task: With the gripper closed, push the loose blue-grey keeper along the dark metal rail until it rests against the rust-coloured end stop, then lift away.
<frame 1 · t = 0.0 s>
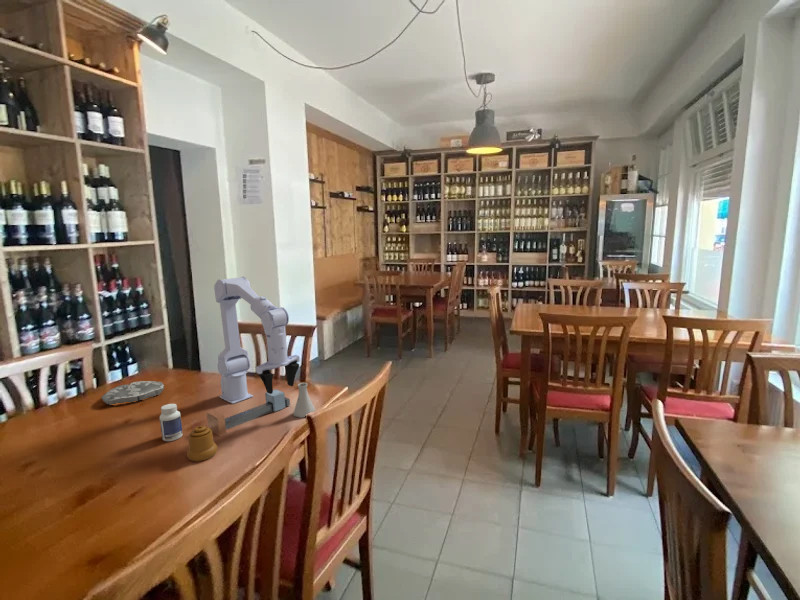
hand: (280, 389, 132), 10 cm above the table, tool pointing down, fingers open, 7 cm apart
ornamental finial: (202, 455, 114), on the table
brain slice: (133, 397, 156), on the table
rail: (253, 417, 136), on the table
keeper: (275, 400, 142), point 3 cm above the table, slide at 0.0 cm
flask: (304, 414, 138), on the table
pill bottle: (172, 438, 124), on the table
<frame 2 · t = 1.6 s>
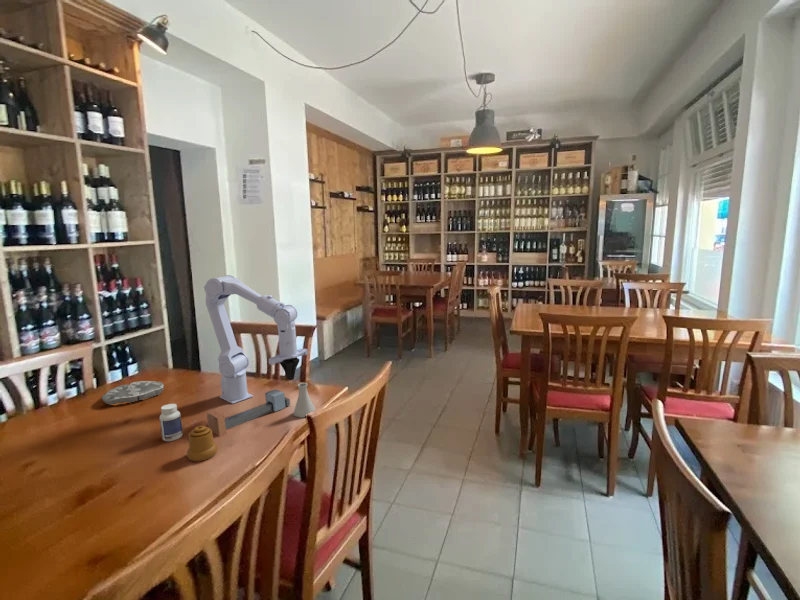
hand: (290, 379, 146), 8 cm above the table, tool pointing down, fingers closed
nothing on the table moved.
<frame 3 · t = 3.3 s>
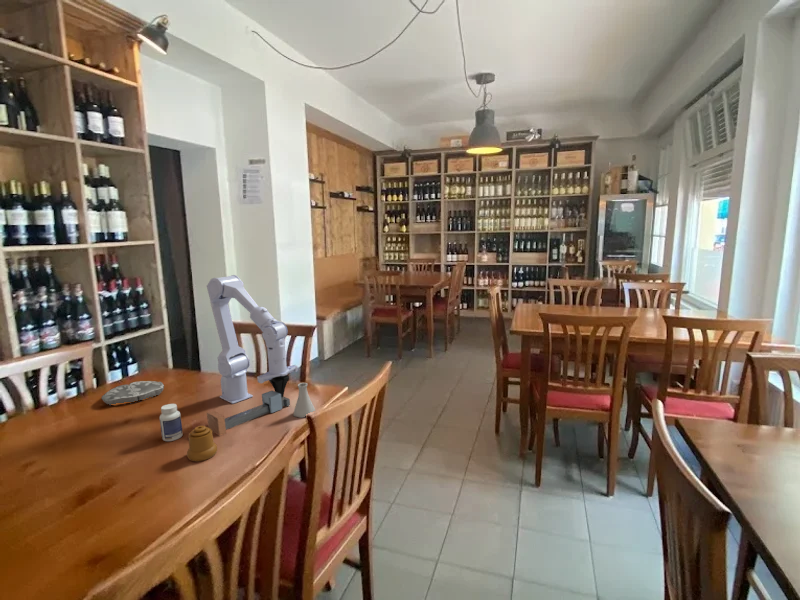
hand: (280, 396, 143), 3 cm above the table, tool pointing down, fingers closed
keeper: (271, 401, 141), point 3 cm above the table, slide at 1.3 cm, touching gripper
everything else where it was.
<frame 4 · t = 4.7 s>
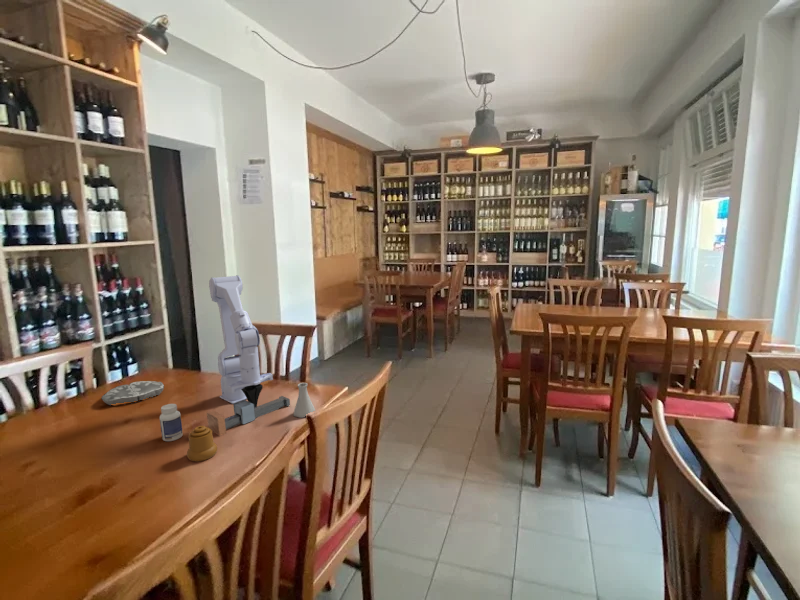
hand: (253, 406, 136), 3 cm above the table, tool pointing down, fingers closed
keeper: (244, 411, 133), point 3 cm above the table, slide at 11.4 cm, touching gripper
everything else where it was.
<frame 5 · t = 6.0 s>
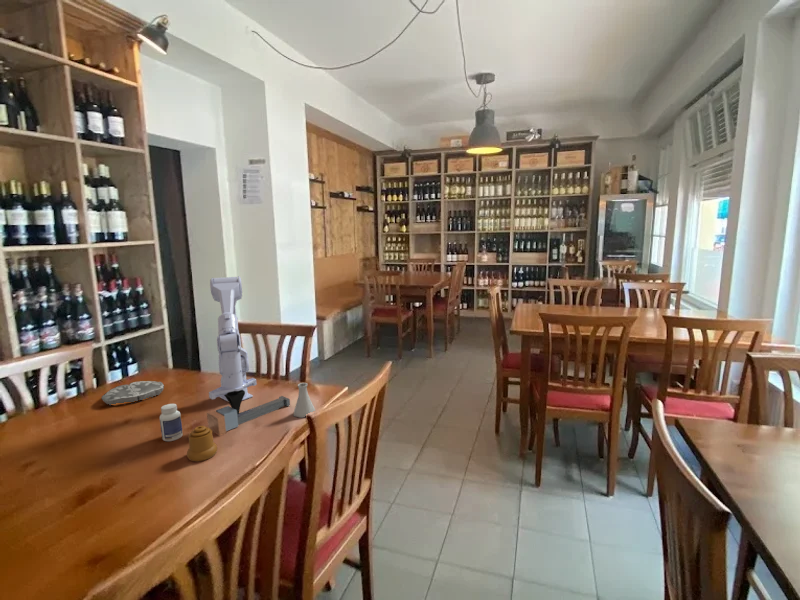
hand: (236, 413, 131), 3 cm above the table, tool pointing down, fingers closed
keeper: (227, 418, 129), point 3 cm above the table, slide at 17.1 cm, touching gripper
everything else where it was.
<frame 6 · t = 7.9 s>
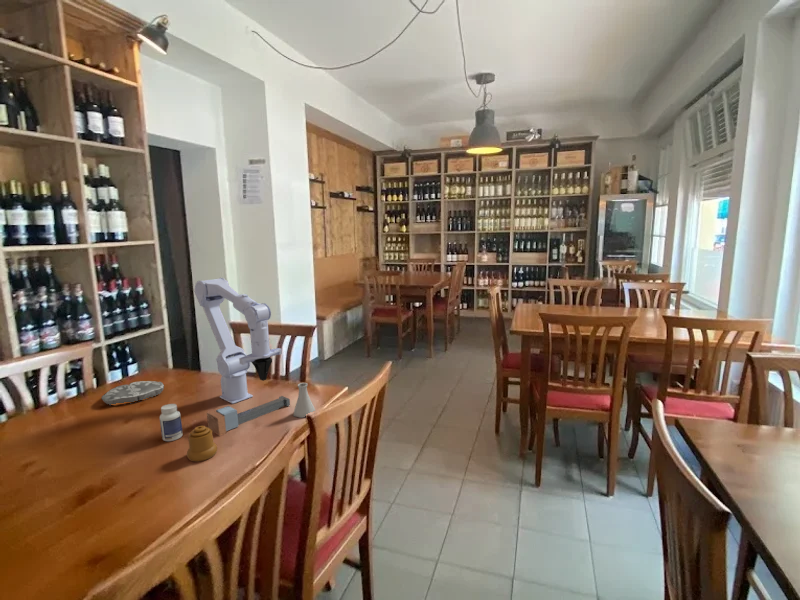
hand: (263, 379, 142), 10 cm above the table, tool pointing down, fingers closed
keeper: (227, 418, 129), point 3 cm above the table, slide at 17.0 cm
everything else where it was.
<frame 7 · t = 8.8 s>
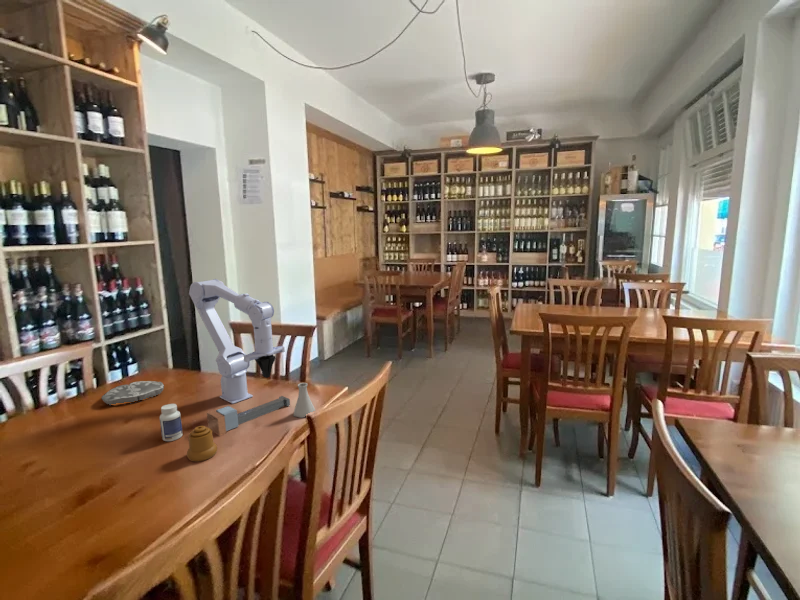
hand: (266, 376, 144), 10 cm above the table, tool pointing down, fingers closed
nothing on the table moved.
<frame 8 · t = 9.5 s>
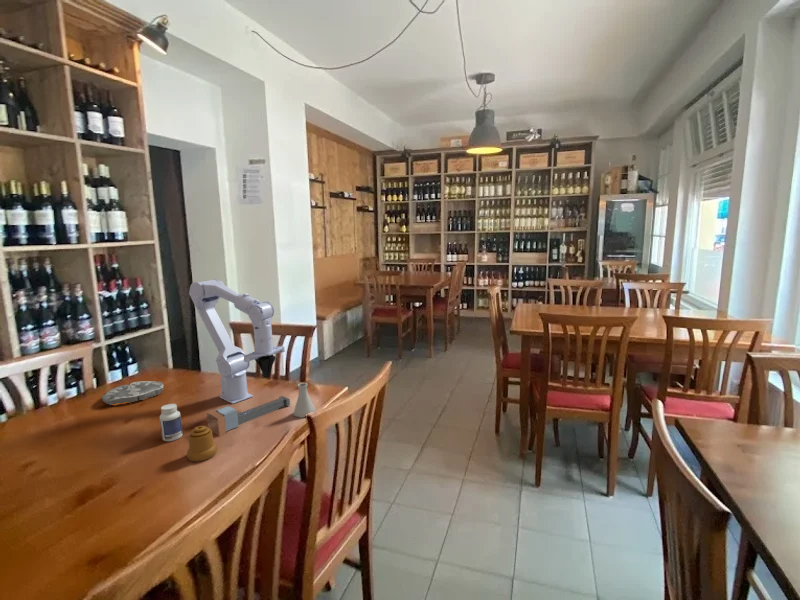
hand: (266, 376, 144), 10 cm above the table, tool pointing down, fingers closed
nothing on the table moved.
at the end: keeper slide at 17.0 cm; keeper touching nothing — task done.
